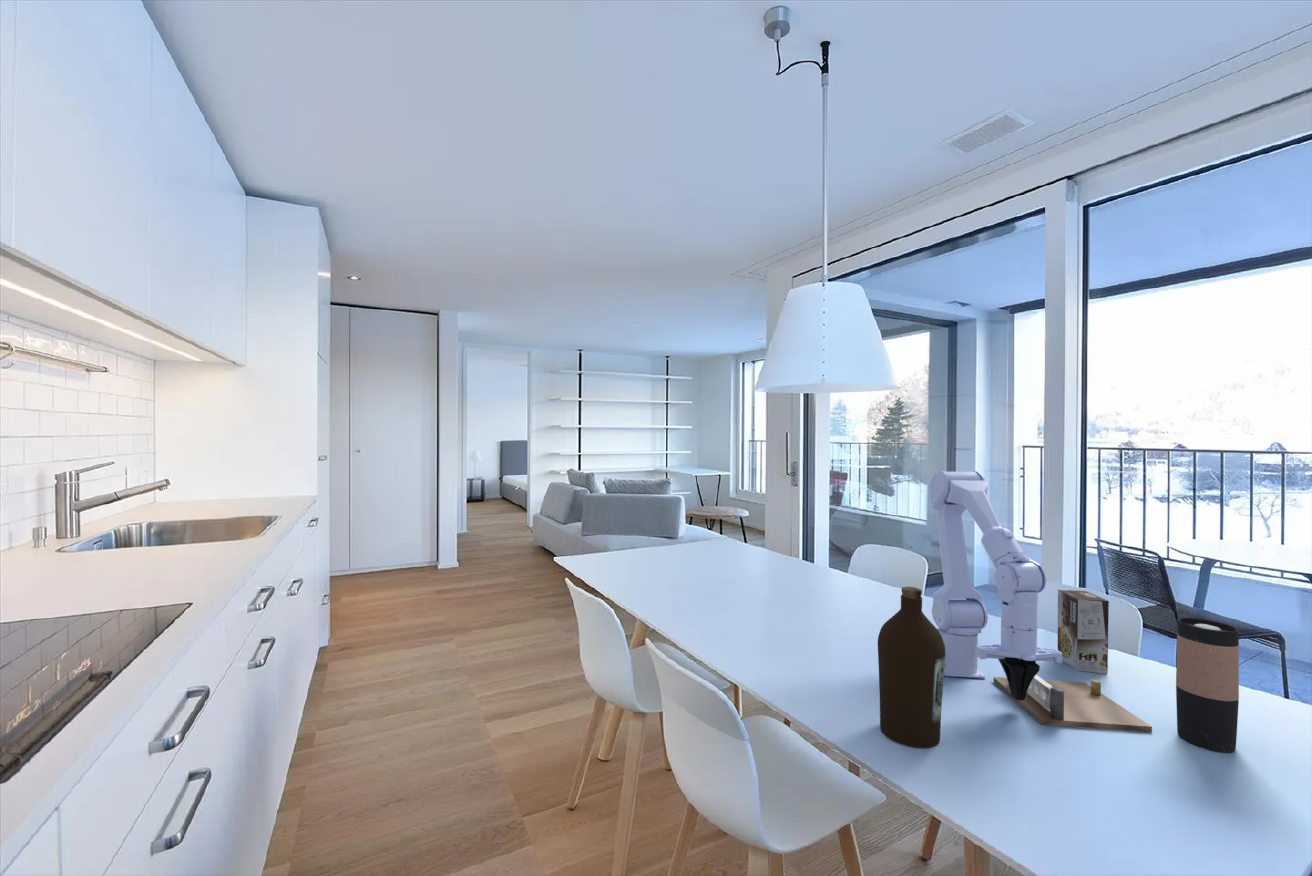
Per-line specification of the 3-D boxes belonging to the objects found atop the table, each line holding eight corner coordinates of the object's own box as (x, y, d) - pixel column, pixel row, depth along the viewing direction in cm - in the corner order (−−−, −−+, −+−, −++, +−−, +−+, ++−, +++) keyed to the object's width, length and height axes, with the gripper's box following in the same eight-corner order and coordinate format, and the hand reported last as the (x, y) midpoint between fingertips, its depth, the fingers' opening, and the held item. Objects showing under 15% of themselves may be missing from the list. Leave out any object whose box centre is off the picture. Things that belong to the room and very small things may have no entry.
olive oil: (872, 740, 94) (874, 591, 94) (880, 713, 103) (882, 578, 104) (943, 758, 89) (945, 601, 89) (944, 728, 98) (946, 586, 99)
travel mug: (1163, 730, 99) (1164, 617, 99) (1202, 729, 100) (1204, 617, 100) (1209, 755, 91) (1210, 632, 91) (1251, 753, 92) (1253, 632, 92)
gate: (1016, 683, 114) (1016, 664, 114) (1022, 684, 113) (1023, 665, 113) (1048, 709, 102) (1049, 689, 102) (1055, 710, 102) (1056, 689, 102)
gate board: (1042, 724, 100) (1042, 688, 100) (993, 681, 118) (993, 651, 118) (1151, 732, 98) (1152, 695, 98) (1085, 687, 116) (1085, 656, 116)
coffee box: (1109, 674, 123) (1110, 601, 123) (1076, 671, 124) (1077, 599, 125) (1086, 658, 132) (1087, 590, 132) (1055, 656, 133) (1056, 588, 133)
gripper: (988, 631, 102) (987, 705, 102) (1073, 635, 101) (1072, 710, 101) (970, 618, 109) (969, 688, 109) (1049, 622, 108) (1048, 693, 108)
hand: (1017, 698), depth 105 cm, fingers closed
